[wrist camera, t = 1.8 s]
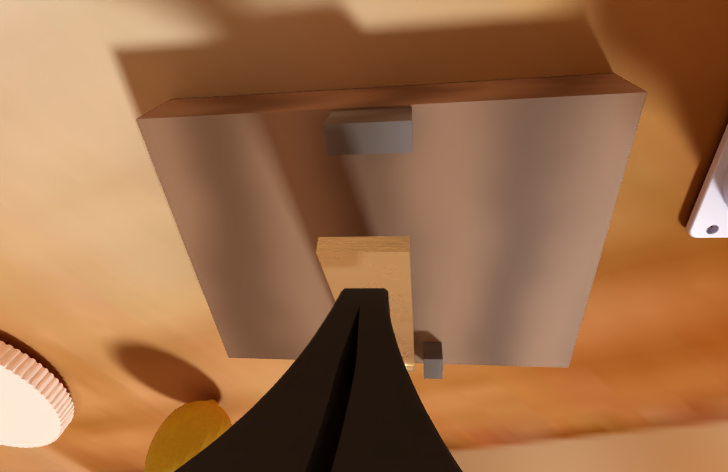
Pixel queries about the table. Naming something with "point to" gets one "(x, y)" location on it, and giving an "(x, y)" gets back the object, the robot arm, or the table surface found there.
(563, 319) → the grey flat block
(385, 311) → the robot arm
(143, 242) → the table surface
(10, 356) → the plastic lid
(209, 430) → the lemon
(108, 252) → the table surface
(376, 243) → the latch bar
